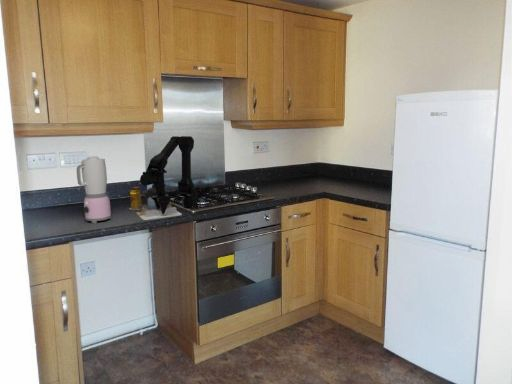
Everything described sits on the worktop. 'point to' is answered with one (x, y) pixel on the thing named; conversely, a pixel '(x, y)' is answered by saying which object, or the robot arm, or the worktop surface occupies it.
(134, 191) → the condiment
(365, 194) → the worktop surface
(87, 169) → the blender
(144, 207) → the rack
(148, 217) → the mat
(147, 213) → the rail
